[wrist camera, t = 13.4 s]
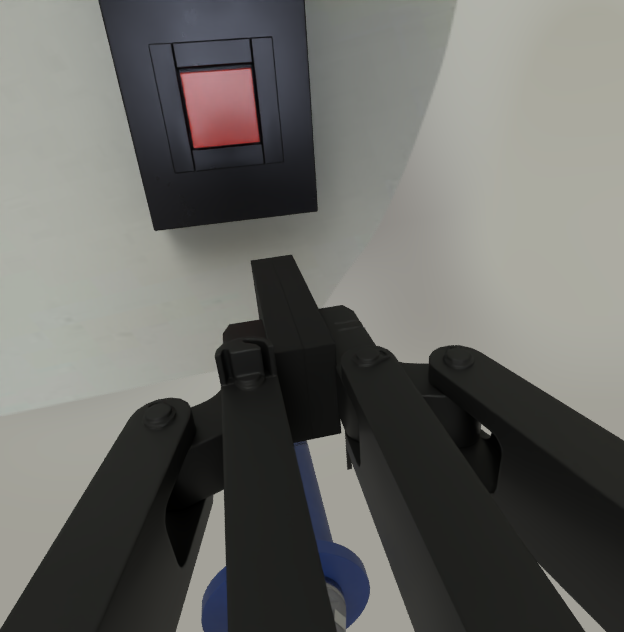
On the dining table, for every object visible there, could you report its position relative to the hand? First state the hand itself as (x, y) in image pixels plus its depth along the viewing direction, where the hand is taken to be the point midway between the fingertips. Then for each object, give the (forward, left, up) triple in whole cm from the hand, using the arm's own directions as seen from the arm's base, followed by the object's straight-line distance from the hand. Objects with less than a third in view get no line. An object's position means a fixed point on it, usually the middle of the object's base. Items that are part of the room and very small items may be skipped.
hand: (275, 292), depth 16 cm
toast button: (+6, +1, -13) cm, 15 cm away
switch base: (+6, +1, -18) cm, 19 cm away
